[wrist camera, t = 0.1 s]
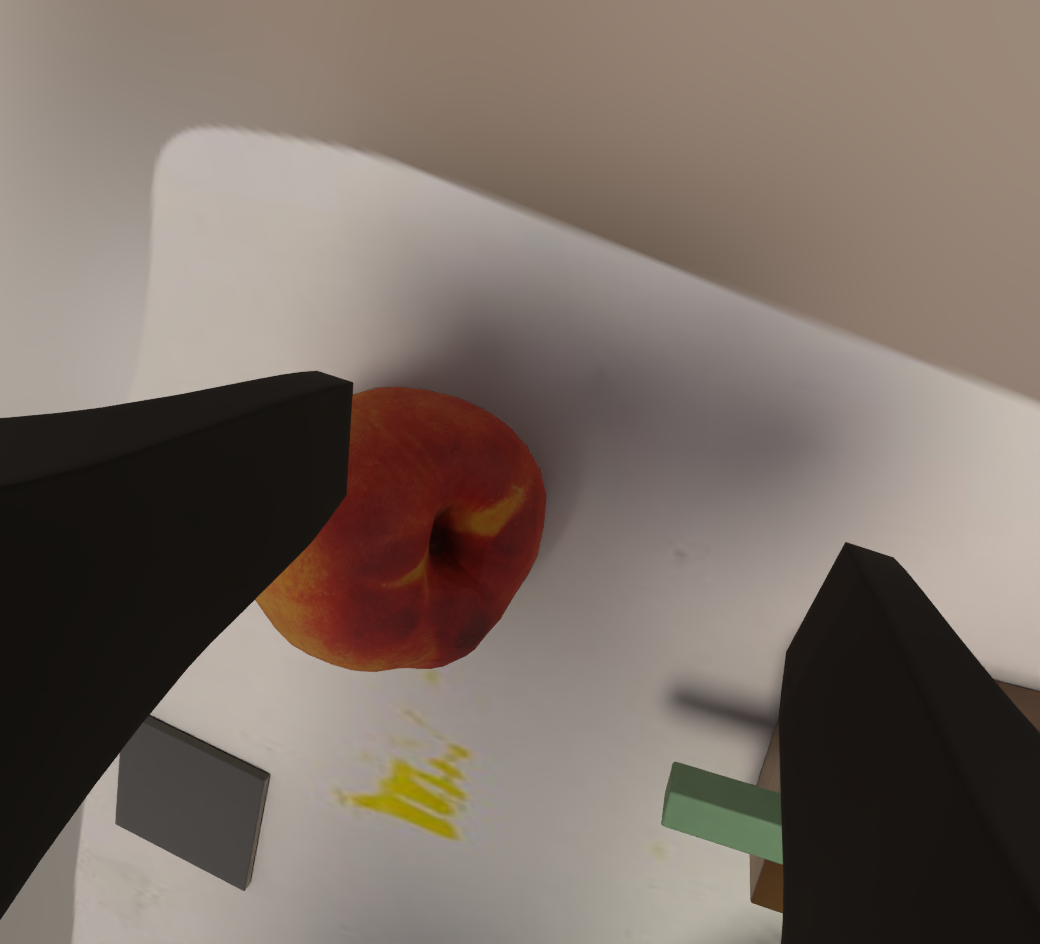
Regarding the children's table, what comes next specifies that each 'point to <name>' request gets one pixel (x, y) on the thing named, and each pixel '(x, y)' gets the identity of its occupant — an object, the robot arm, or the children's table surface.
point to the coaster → (191, 800)
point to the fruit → (415, 537)
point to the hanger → (724, 811)
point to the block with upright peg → (762, 871)
